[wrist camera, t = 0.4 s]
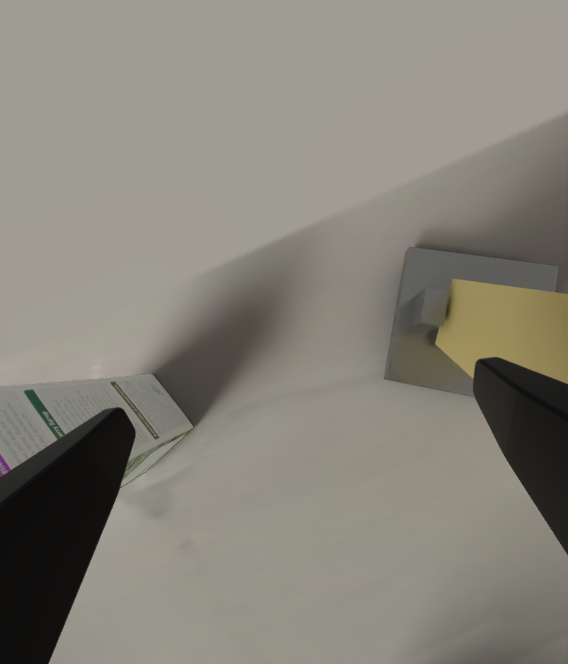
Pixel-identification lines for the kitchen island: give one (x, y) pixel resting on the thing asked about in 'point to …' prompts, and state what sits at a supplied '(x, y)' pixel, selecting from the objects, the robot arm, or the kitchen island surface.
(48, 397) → the syrup box
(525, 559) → the kitchen island surface
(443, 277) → the base
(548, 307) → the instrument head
